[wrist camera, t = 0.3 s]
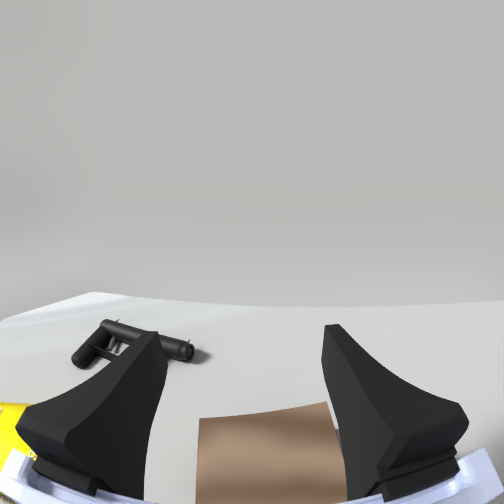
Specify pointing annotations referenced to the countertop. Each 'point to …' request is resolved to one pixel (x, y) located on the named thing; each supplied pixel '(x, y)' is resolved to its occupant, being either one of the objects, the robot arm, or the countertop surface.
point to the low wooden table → (271, 458)
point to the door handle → (127, 335)
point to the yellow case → (11, 432)
